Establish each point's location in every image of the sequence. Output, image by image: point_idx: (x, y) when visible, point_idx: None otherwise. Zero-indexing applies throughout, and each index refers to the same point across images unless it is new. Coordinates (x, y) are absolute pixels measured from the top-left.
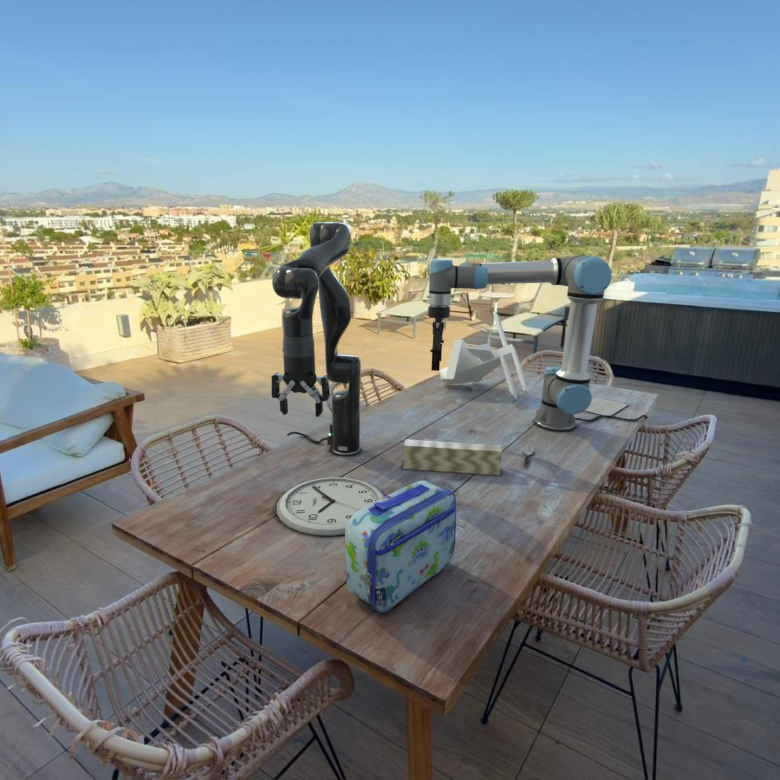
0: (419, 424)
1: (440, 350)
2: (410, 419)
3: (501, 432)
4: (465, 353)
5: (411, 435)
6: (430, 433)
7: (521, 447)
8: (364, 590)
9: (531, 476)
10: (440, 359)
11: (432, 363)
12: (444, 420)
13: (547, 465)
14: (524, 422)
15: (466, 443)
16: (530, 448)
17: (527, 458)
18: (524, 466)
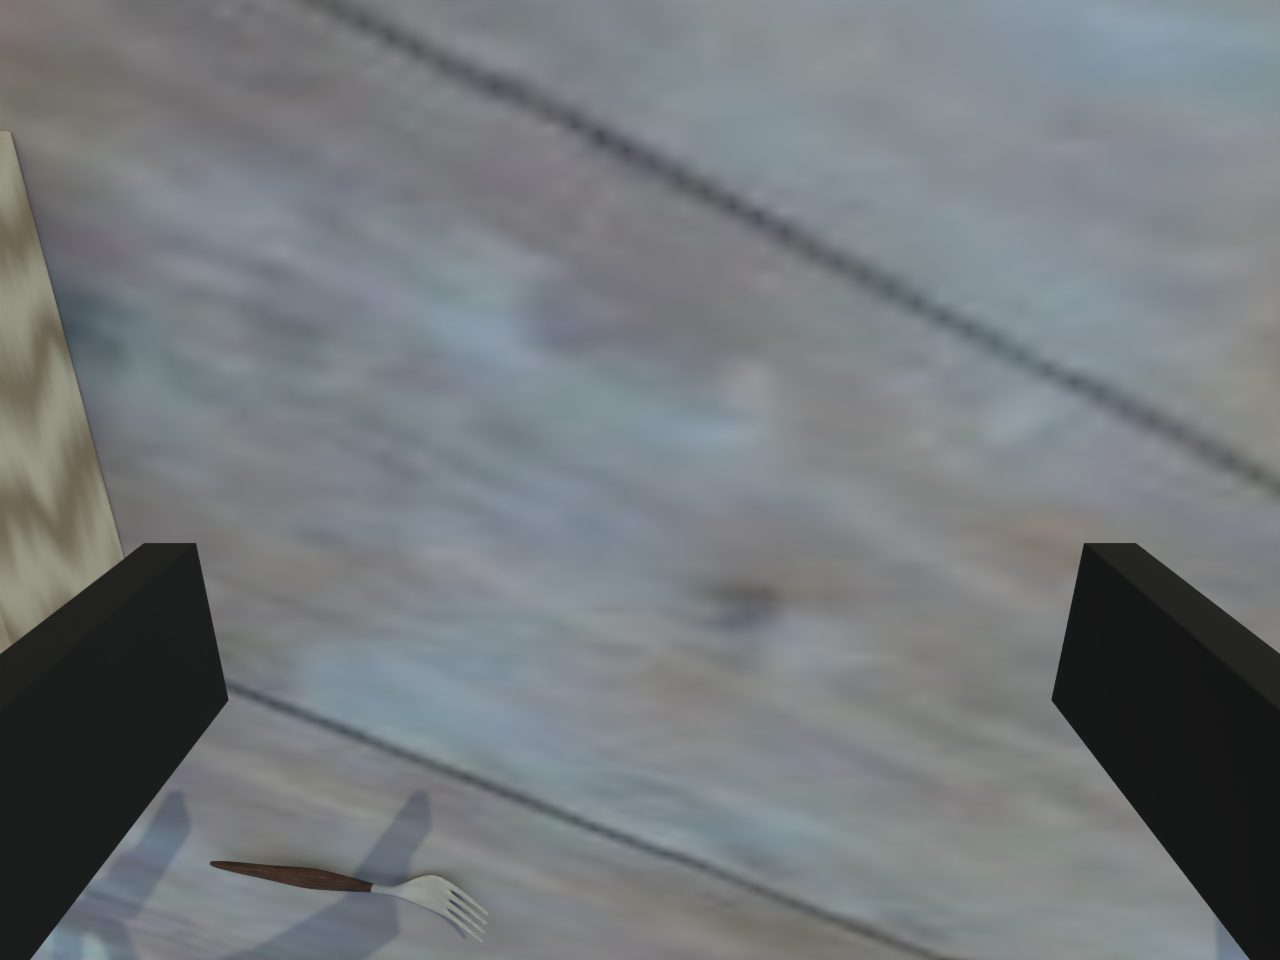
0: (854, 176)
1: (1230, 887)
2: (983, 70)
3: (755, 777)
4: None
5: (573, 126)
6: (651, 293)
7: (523, 863)
8: None
9: (137, 875)
10: (1078, 710)
11: (30, 654)
12: (971, 394)
13: (307, 952)
14: (958, 910)
15: (2, 645)
16: (461, 916)
17: (323, 887)
18: (212, 864)
